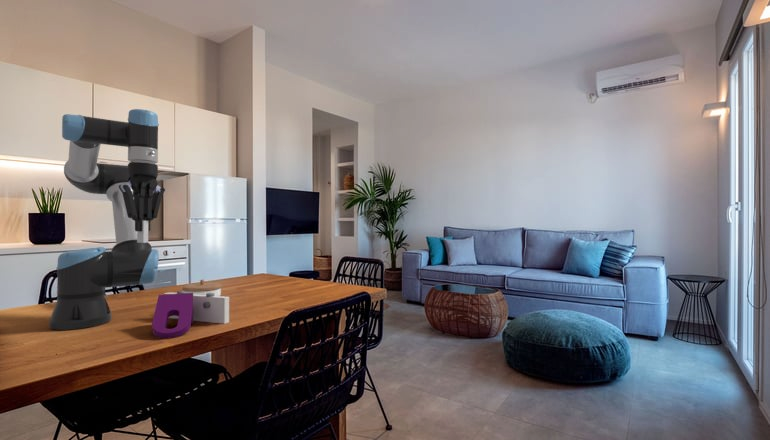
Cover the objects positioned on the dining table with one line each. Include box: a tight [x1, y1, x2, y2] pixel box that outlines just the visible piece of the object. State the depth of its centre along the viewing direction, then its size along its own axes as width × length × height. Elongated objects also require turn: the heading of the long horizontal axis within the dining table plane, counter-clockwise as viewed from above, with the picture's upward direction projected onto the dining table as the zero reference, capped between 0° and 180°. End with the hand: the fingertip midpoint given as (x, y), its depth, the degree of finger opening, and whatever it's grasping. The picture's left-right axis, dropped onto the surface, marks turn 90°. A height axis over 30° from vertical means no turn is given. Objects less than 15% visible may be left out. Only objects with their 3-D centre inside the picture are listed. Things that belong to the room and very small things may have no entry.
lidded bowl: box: [181, 279, 222, 296], centre depth 136 cm, size 13×13×11 cm
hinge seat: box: [162, 290, 230, 325], centre depth 123 cm, size 25×3×9 cm, turn 71°
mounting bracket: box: [151, 293, 194, 339], centre depth 112 cm, size 10×8×18 cm
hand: (142, 242), depth 113 cm, fingers closed
